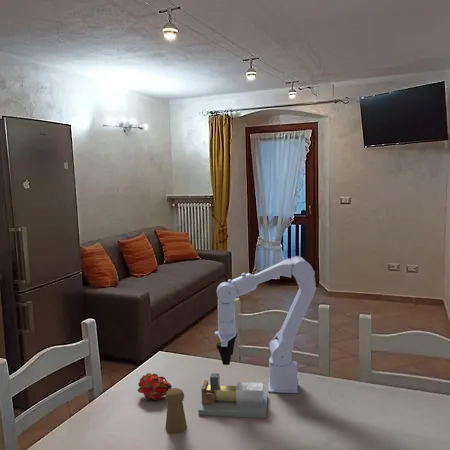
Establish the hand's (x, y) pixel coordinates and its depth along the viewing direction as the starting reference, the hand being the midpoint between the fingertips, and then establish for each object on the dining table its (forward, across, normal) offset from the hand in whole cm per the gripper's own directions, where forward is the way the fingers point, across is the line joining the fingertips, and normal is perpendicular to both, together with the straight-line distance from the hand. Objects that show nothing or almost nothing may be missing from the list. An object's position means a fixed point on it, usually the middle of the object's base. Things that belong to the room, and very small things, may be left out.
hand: (227, 359), depth 142 cm
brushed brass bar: (+9, +10, 0) cm, 13 cm away
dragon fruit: (+11, +7, -23) cm, 26 cm away
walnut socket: (+9, +10, -4) cm, 14 cm away
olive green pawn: (+11, +23, -12) cm, 28 cm away
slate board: (+10, +10, +3) cm, 15 cm away
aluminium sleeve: (+9, +10, +8) cm, 16 cm away
